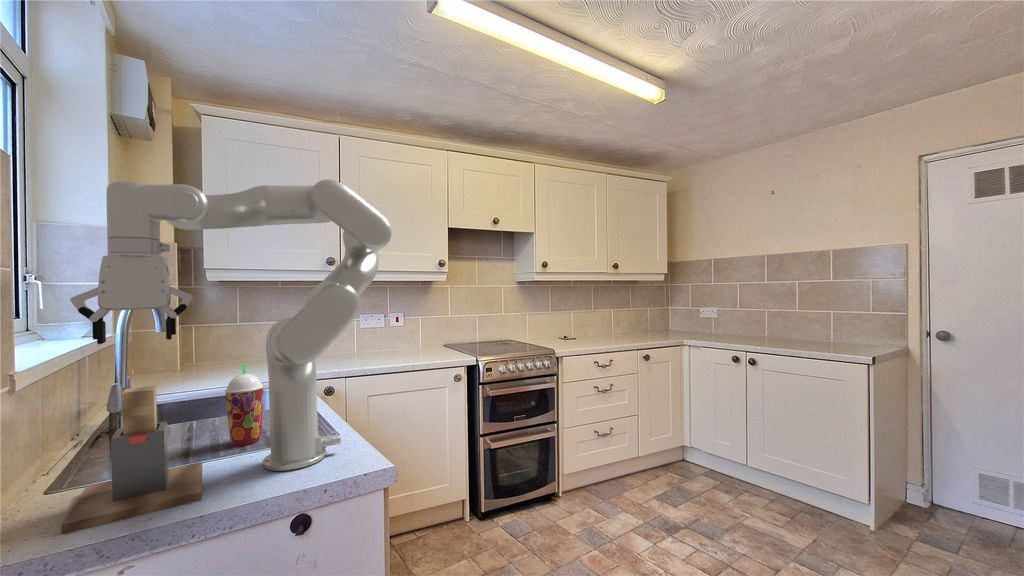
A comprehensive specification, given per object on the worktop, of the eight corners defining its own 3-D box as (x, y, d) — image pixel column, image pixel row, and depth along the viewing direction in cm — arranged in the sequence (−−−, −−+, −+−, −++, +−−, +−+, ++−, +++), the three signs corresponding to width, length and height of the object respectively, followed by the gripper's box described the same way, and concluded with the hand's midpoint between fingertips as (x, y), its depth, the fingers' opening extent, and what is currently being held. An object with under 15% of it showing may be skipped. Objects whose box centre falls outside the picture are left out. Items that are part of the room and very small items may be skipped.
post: (159, 478, 85) (156, 385, 85) (156, 486, 81) (154, 389, 81) (127, 485, 82) (125, 389, 82) (124, 493, 79) (121, 393, 79)
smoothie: (257, 434, 117) (255, 359, 117) (270, 440, 111) (268, 361, 112) (221, 443, 110) (219, 364, 110) (233, 450, 105) (231, 367, 105)
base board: (202, 468, 94) (201, 461, 94) (201, 500, 79) (200, 491, 79) (87, 493, 84) (87, 485, 84) (61, 534, 69) (61, 524, 69)
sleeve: (168, 476, 87) (167, 421, 87) (165, 490, 80) (163, 430, 80) (119, 487, 83) (117, 428, 83) (112, 502, 76) (110, 439, 76)
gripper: (192, 252, 90) (194, 336, 90) (75, 250, 80) (77, 343, 80) (191, 249, 84) (193, 338, 84) (64, 245, 74) (66, 347, 74)
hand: (136, 341), depth 82 cm, fingers open, 9 cm apart
